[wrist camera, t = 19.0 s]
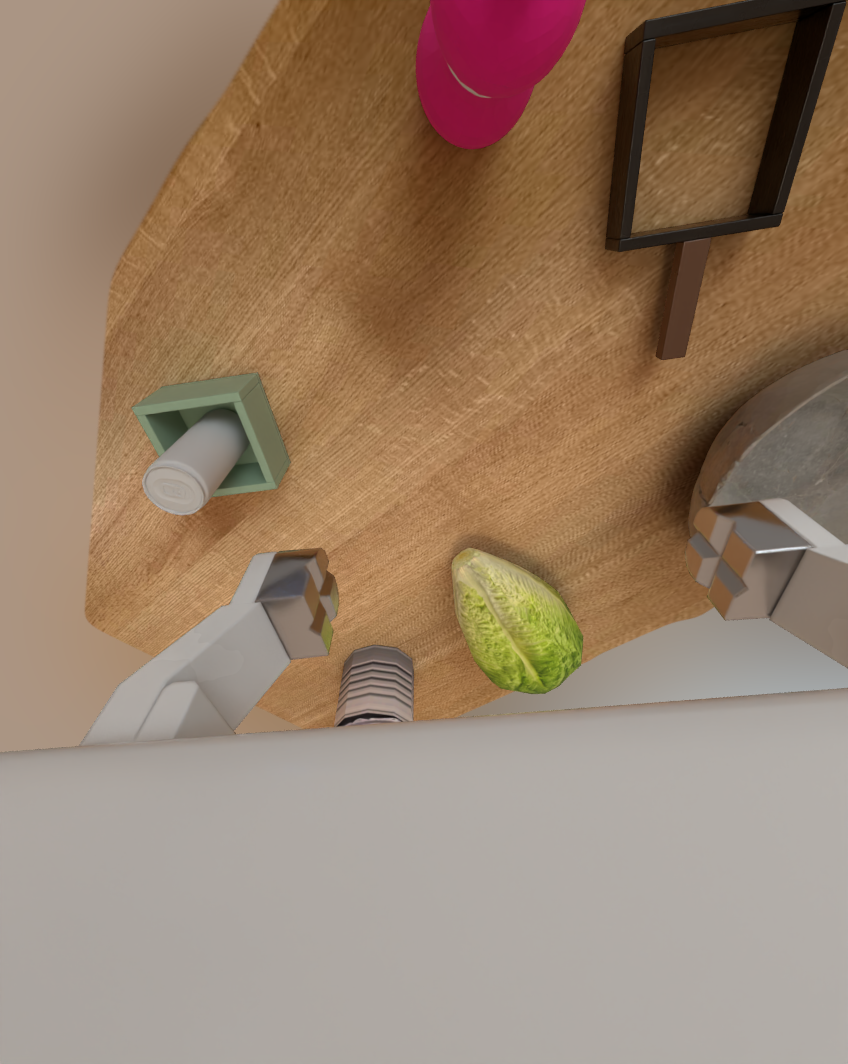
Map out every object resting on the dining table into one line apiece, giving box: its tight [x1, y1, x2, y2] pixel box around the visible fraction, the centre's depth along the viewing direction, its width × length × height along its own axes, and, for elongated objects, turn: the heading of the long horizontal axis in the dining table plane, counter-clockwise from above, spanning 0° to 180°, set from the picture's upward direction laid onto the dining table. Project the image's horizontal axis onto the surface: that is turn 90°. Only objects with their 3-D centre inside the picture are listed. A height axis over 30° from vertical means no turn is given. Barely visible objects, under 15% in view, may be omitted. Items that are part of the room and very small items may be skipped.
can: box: [334, 645, 414, 727], centre depth 63 cm, size 11×11×12 cm
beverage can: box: [142, 409, 250, 515], centre depth 38 cm, size 5×5×12 cm
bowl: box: [688, 350, 848, 545], centre depth 41 cm, size 28×28×10 cm
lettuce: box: [451, 548, 583, 694], centre depth 53 cm, size 13×22×14 cm
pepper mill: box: [416, 0, 586, 149], centre depth 21 cm, size 7×7×20 cm
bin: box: [132, 373, 291, 497], centre depth 41 cm, size 10×10×6 cm
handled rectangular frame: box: [605, 0, 846, 360], centre depth 32 cm, size 20×12×3 cm, turn 8°
